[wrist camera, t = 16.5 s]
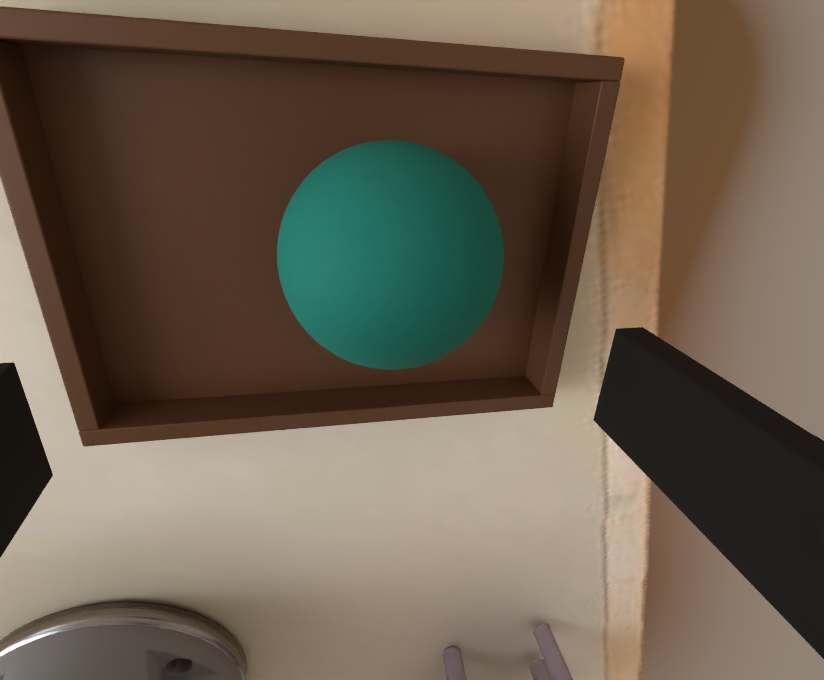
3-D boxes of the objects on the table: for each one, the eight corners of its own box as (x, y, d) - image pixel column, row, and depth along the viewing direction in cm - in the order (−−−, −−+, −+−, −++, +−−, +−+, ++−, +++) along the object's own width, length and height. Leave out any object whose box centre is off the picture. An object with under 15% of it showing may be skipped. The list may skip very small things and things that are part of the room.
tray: (531, 381, 27) (552, 407, 25) (104, 411, 23) (82, 447, 20) (589, 61, 20) (626, 57, 18) (-5, 15, 16) (-56, 1, 14)
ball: (412, 326, 24) (546, 365, 18) (255, 362, 19) (366, 431, 13) (406, 154, 22) (558, 132, 16) (228, 147, 17) (346, 113, 11)
